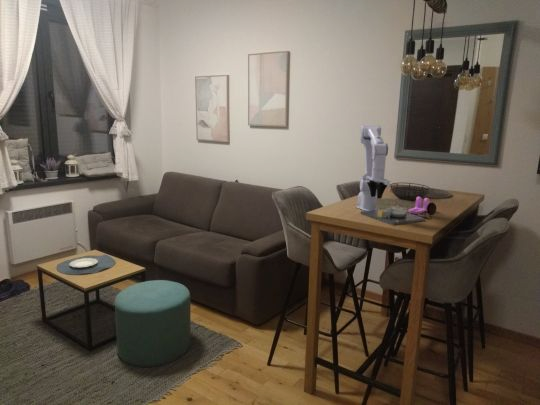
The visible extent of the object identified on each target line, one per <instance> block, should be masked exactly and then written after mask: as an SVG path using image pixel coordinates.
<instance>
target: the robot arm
mask: <svg viewBox="0 0 540 405" xmlns="http://www.w3.org/2000/svg"><path fill="white" fill-rule="evenodd" d="M381 134H382V127H381V125H364V124H363V125H361V126H360V131H359V138H360V139H359V140H360V143H361V144H363V148H364V163H365V164H364V167H365V171H364V172H365V173H364V174H363V175H362V176H361V177H360V180H359V181H360V182H359V190H360V191H359V193H358V196H357V206H356V207H355V209H360V210H362V211H370V210H379V208H377V199H378V200H380V199H382V197H383V194H384V192H385V190H386V189H387V187H388V186H390V185H391V181H390V180H388V179H385V169H386V158H387V156H388V153H389V144H388V143H385V142H384V139H383V138H382V136H381Z"/></svg>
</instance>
